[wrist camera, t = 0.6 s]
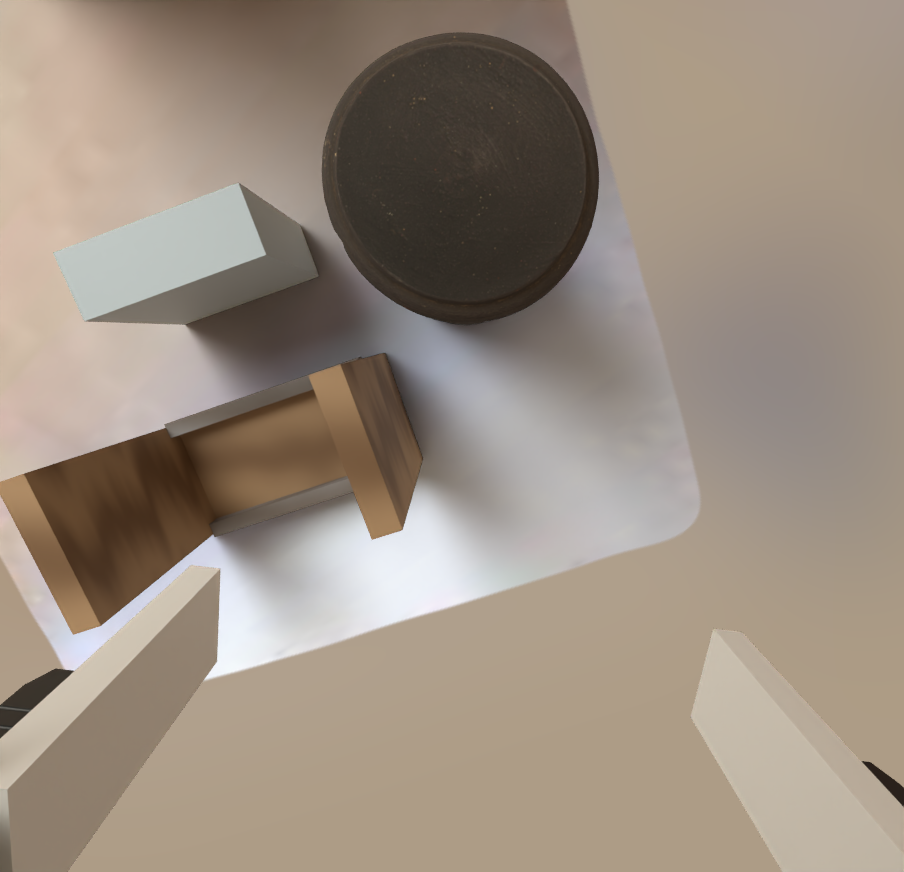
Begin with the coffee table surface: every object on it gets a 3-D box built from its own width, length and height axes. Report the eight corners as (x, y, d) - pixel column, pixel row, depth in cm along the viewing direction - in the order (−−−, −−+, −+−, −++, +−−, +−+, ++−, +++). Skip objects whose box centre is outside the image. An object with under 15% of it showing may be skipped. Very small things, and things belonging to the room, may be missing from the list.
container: (463, 355, 36) (469, 380, 17) (367, 262, 35) (253, 173, 16) (552, 260, 35) (671, 169, 16) (456, 161, 34) (452, -73, 14)
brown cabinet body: (162, 425, 38) (-8, 478, 24) (383, 349, 36) (338, 358, 23) (209, 531, 39) (75, 639, 25) (424, 461, 38) (404, 534, 24)
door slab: (161, 266, 36) (47, 241, 26) (296, 216, 35) (233, 170, 25) (185, 324, 36) (84, 321, 27) (319, 276, 36) (266, 254, 26)
